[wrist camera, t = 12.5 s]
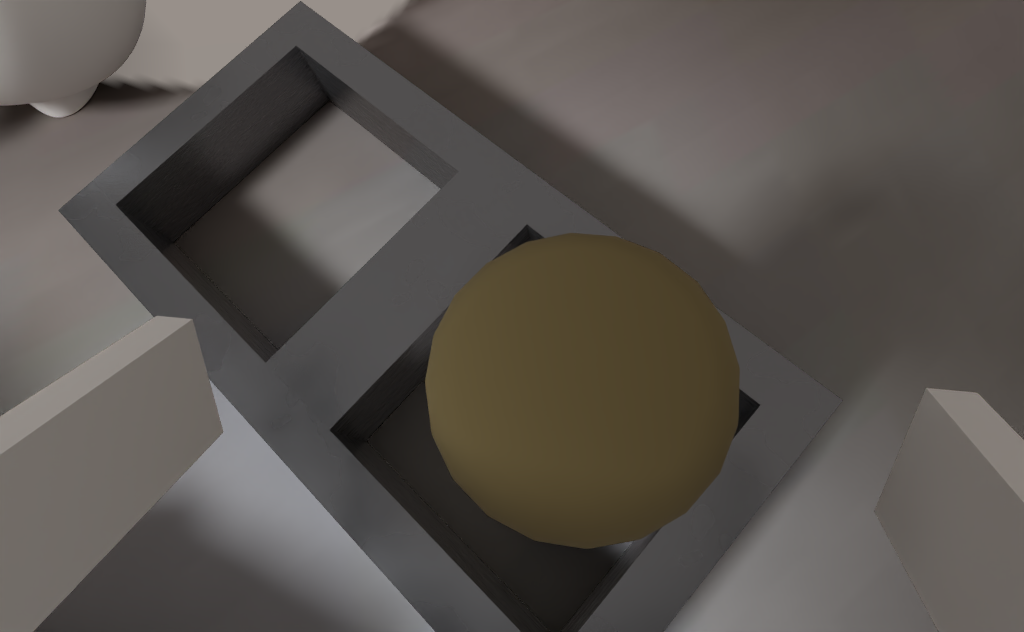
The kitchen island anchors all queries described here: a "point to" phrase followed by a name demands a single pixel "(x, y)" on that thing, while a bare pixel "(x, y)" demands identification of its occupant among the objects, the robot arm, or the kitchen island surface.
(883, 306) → the kitchen island surface
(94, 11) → the white rounded piece
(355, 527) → the cinder block
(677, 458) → the cork
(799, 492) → the kitchen island surface
